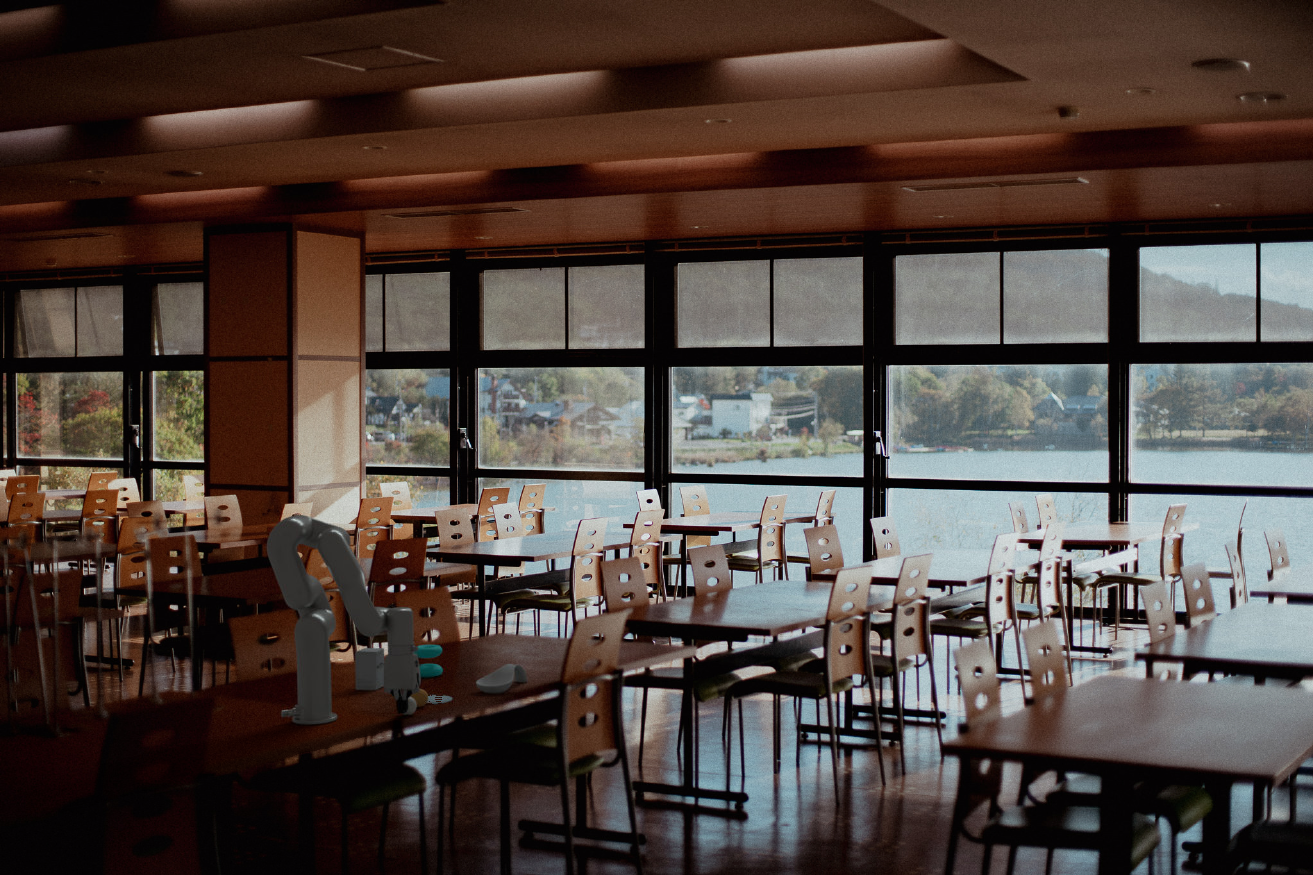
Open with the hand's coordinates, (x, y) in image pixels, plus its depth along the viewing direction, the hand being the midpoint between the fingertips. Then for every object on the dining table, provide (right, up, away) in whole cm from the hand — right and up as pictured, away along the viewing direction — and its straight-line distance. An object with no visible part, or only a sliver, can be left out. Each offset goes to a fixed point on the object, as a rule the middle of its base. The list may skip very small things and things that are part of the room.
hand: (402, 712), depth 392 cm
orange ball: (+2, +1, +15) cm, 16 cm away
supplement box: (-19, -2, +47) cm, 51 cm away
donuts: (-4, -1, +68) cm, 68 cm away
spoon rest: (+25, -1, +43) cm, 49 cm away
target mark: (+4, -1, +25) cm, 26 cm away
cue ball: (+1, +1, +4) cm, 4 cm away
